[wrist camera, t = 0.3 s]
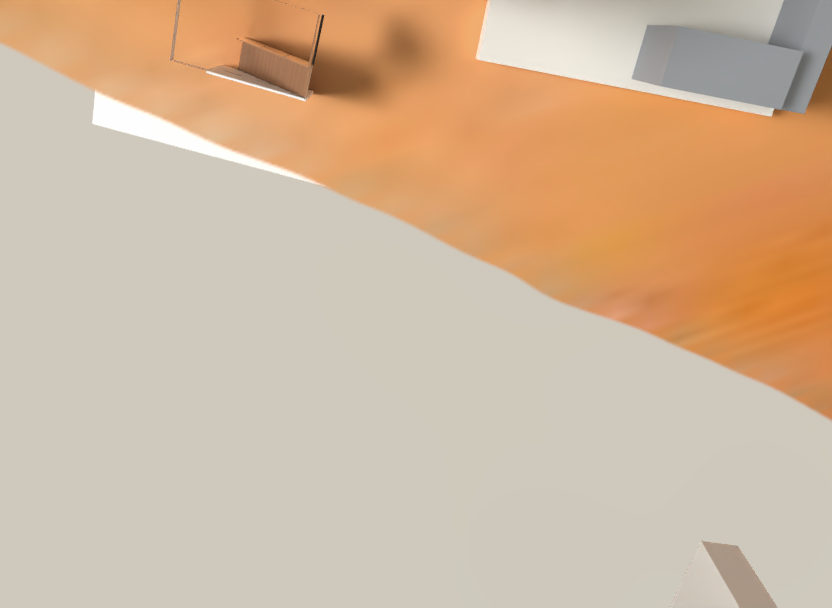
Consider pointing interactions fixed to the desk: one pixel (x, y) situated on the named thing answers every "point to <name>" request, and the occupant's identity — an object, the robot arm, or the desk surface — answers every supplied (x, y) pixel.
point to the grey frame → (255, 69)
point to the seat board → (609, 35)
